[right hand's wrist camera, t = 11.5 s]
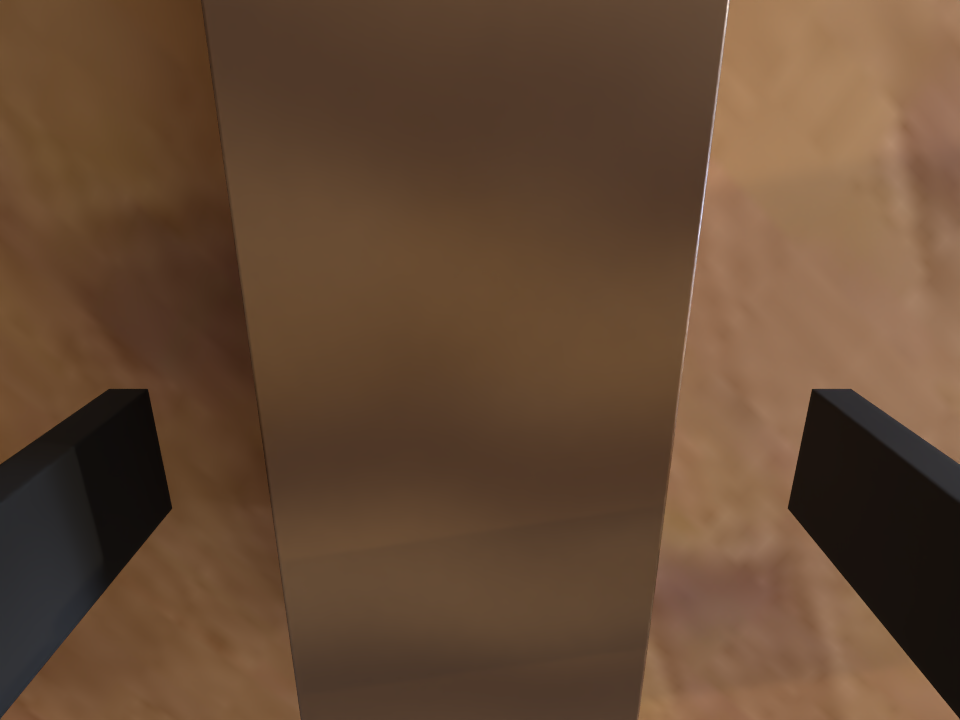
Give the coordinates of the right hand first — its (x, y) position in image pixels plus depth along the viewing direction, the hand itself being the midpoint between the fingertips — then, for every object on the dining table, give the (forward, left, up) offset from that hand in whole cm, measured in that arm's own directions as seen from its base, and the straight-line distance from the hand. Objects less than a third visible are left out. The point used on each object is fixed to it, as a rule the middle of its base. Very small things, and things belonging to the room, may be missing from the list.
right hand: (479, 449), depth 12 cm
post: (-3, -34, -4) cm, 34 cm away
